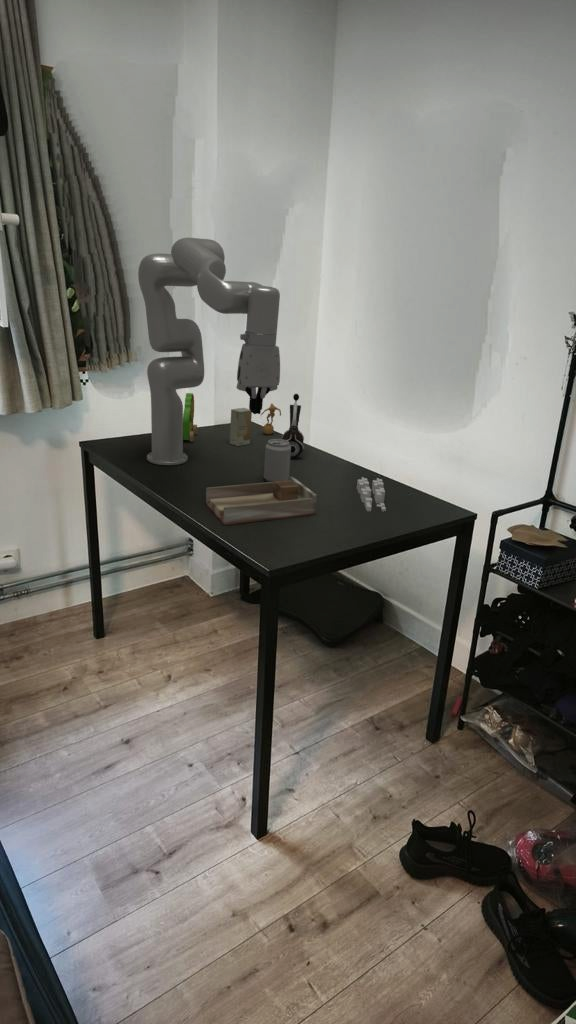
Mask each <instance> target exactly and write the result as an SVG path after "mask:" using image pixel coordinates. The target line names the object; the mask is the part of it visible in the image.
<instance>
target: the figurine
mask: <svg viewBox="0 0 576 1024" xmlns="http://www.w3.org/2000/svg"><path fill="white" fill-rule="evenodd" d="M269 405H270V406H269V407H268V408H265V410H263V412H261V413H260V417H261V416H262V415H264V413H265V412H267V411H269V413H267V416H266V421H267V423H266V424H264V425H263V427H262V431H263V433H264V434H265V435H271V434H272V433H273V432H274V431H275V430H274V425H273V422H274V419H273V418H274V417H275V415H276V414H275V411H278V412H279V416H280V417H281V416H282V413H281V412H282V411H281V409H280V408H278V407H277V406H275V405H274V404H273V403H271V404H269ZM269 418H270V419H269Z"/></svg>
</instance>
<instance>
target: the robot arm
mask: <svg viewBox="0 0 576 1024" xmlns="http://www.w3.org/2000/svg"><path fill="white" fill-rule="evenodd" d="M225 257H226V256H225V252H224V249H223V247H222V246H221V244H220V243H219V242H217V241H216V240H213V239H209V238H197V237H196V238H195V237H183V238H180V239H178V240H176V241H175V242H174V243H173V245H172V247H171V250H170V253H162V252H161V253H153V254H148V255H146V256H144V257H143V258H142V259H141V261H140V263H139V266H138V273H137V275H138V284H139V287H140V290H141V294H142V297H143V300H144V307H145V315H146V316H145V317H146V325H147V334H148V341H149V344H150V347H151V349H152V350H153V351H155V352H156V353H157V352H158V353H177V352H179V353H181V356H163V357H158V358H155V359H153V360H151V361H150V362H149V364H148V366H147V371H146V374H147V381H148V385H149V390H150V391H149V392H150V405H151V407H150V408H151V409H150V410H151V411H150V412H151V413H150V414H151V416H150V417H151V418H150V419H151V422H150V423H151V452H149V453H147V455H146V460H147V461H148V462H149V463H151V464H154V465H159V466H177V465H181V464H182V465H183V464H185V463H186V462H187V461H188V460H189V459H188V458H189V456H188V455H187V454H186V453H185V452H184V446H183V444H184V440H183V413H184V405H183V404H184V403H183V401H182V399H181V397H180V396H179V393H178V392H177V390H182V389H191V388H196V387H199V386H201V385H202V383H203V382H204V379H205V362H204V361H205V359H204V351H203V338H202V332H201V329H200V326H199V325H198V324H197V322H195V321H194V320H192V319H189V318H177V317H178V316H177V312H176V304H175V301H174V298H173V296H172V294H171V293H170V292H169V290H168V289H167V288H166V287H185V288H186V287H187V288H190V287H196V289H197V292H198V295H199V298H200V299H201V300H202V301H203V302H204V303H205V304H206V305H208V307H210V308H211V309H212V310H214V311H215V312H218V313H220V314H226V315H227V314H229V315H231V314H232V315H235V314H236V315H237V314H239V315H240V314H242V315H246V327H245V331H244V333H242V334H240V335H239V339H240V341H244V343H242V346H241V349H240V353H239V358H238V363H237V371H236V372H237V373H236V380H237V384H236V389H237V390H238V391H242V392H245V393H246V394H247V395H248V396H249V402H248V403H249V406H248V409H250V411H251V412H252V415H257V414H258V415H261V414H262V412H261V411H262V410H263V403H264V399H265V397H266V396H267V395H268V393H270V392H274V391H276V390H278V386H280V379H281V357H280V355H281V353H280V346H278V345H277V335H278V324H279V323H278V322H279V311H280V298H281V293H280V291H279V289H278V288H277V287H273V286H266V285H263V284H260V283H259V282H254V281H236V280H225V277H226V271H227V269H226V264H225Z"/></svg>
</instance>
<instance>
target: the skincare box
mask: <svg viewBox="0 0 576 1024" xmlns="http://www.w3.org/2000/svg"><path fill="white" fill-rule="evenodd" d="M252 415H253V413H252V412H251V411H250V409H249V408H245V407H239V408H238V407H237V408H232V409H231V410H230V423H229V424H230V425H229V427H230V428H229V430H230V431H229V444H230V445H233V446H236V447H240V446H241V447H242V446H245V445H250V444H251V430H252Z"/></svg>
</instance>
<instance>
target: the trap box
mask: <svg viewBox="0 0 576 1024" xmlns="http://www.w3.org/2000/svg"><path fill="white" fill-rule="evenodd" d="M288 480H292V481H293V482H294V483H295V484H297V485H298V486H299V492H298V499H295V500H285V501H278V500H277V499H276V498H275V497H274V496H273V486H274V482H268V481H267V482H255V483H244V484H234V485H233V484H232V485H222V486H211V487H206V489H205V504H206V506H207V507H208V508H209V509H210V510H211V512H212V513H214V515H215V516H216V518H218V520H219V521H220V522H221V523H222V524H223V525H224V526H227V525H228V526H229V525H236V524H244V523H245V524H246V523H255V522H261V521H272V520H280V519H287V518H288V519H290V518H297V517H304V516H305V517H306V516H314V515H316V506H317V497H318V496H317V493H315V492H313V490H312V489H310V488H308V487H307V486H306V485H305V484H304V483H302V482H300V481H299V480H298V479H296V478H295V477H294V476H289V479H288Z"/></svg>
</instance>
